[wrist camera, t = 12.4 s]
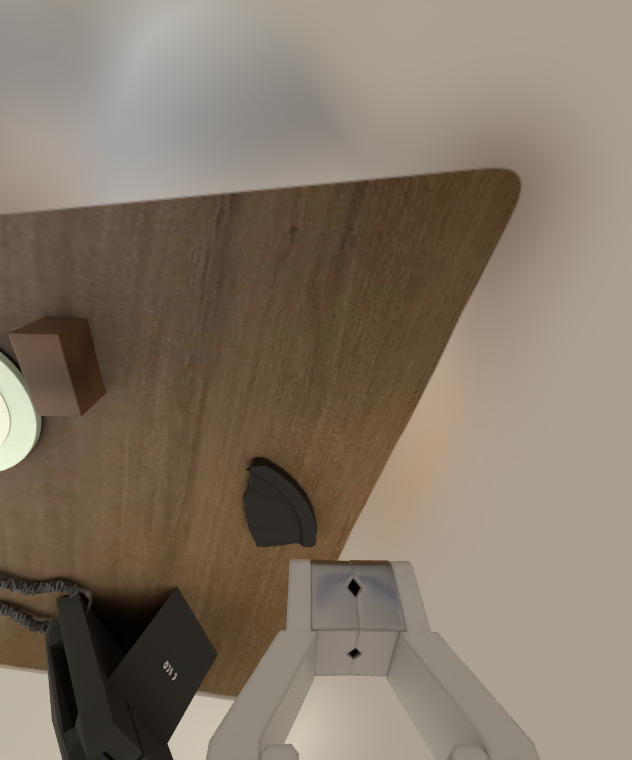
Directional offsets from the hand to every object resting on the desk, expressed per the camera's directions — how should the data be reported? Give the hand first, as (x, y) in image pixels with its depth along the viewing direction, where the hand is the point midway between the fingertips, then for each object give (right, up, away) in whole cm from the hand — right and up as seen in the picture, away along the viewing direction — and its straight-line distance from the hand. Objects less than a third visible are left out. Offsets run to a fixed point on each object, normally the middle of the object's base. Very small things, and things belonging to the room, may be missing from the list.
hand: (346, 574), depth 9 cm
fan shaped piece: (-5, -11, +36) cm, 38 cm away
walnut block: (-24, +7, +27) cm, 37 cm away
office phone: (-33, -31, +46) cm, 64 cm away
